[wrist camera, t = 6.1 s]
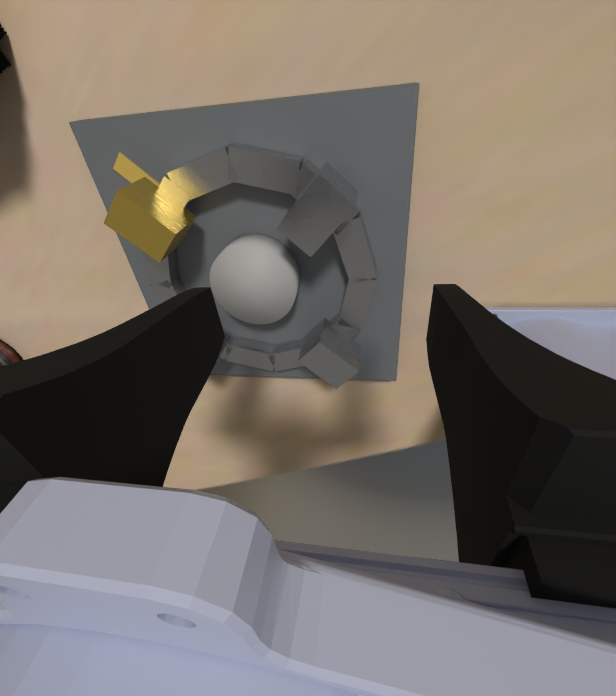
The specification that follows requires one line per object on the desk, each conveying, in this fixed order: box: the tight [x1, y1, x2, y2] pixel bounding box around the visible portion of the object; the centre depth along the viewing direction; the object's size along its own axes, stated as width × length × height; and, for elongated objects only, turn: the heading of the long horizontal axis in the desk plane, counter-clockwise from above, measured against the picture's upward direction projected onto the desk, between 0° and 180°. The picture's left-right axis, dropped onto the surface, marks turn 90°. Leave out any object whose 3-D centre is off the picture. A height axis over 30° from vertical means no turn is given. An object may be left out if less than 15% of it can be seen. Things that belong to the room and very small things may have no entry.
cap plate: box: [69, 83, 419, 381], centre depth 21 cm, size 17×17×3 cm
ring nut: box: [104, 143, 377, 388], centre depth 20 cm, size 15×15×4 cm
